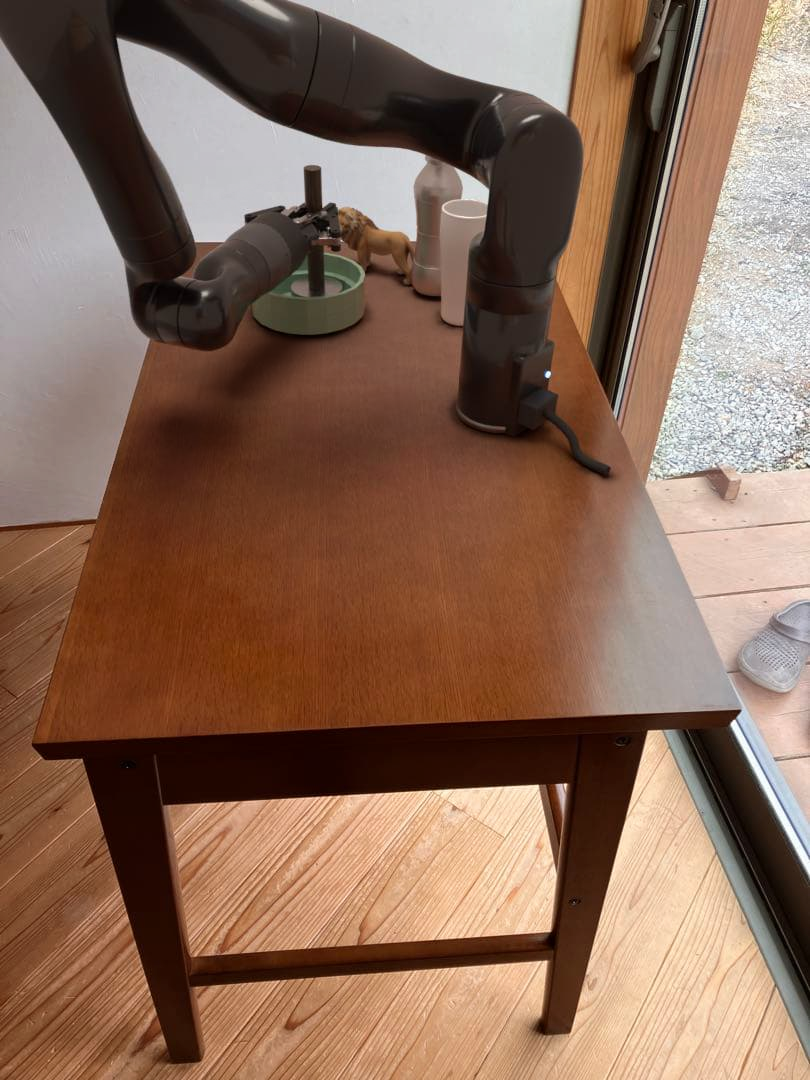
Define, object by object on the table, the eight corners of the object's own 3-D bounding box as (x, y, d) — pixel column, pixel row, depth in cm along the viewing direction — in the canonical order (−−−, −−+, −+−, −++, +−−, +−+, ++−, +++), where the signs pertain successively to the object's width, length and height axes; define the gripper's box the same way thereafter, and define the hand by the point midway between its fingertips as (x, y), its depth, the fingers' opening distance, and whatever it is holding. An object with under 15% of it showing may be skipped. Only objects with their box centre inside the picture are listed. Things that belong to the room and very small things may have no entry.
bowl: (387, 312, 121) (388, 273, 118) (307, 350, 113) (306, 310, 109) (309, 279, 129) (308, 242, 125) (229, 313, 120) (225, 274, 116)
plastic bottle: (453, 304, 124) (463, 155, 111) (405, 298, 125) (410, 150, 112) (460, 285, 129) (470, 140, 116) (414, 280, 130) (420, 136, 117)
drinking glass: (426, 322, 119) (431, 211, 110) (448, 303, 124) (455, 195, 114) (472, 334, 117) (481, 221, 107) (492, 314, 122) (503, 204, 112)
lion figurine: (328, 272, 131) (326, 211, 125) (342, 259, 135) (341, 199, 129) (422, 289, 128) (424, 227, 122) (433, 275, 131) (436, 214, 126)
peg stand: (353, 303, 122) (352, 167, 110) (317, 320, 117) (312, 180, 106) (317, 288, 125) (312, 155, 113) (281, 304, 121) (272, 167, 109)
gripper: (314, 233, 99) (373, 187, 111) (205, 214, 102) (274, 171, 115) (316, 296, 104) (372, 245, 116) (212, 276, 107) (278, 228, 120)
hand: (323, 208), depth 116 cm, fingers closed on peg stand
